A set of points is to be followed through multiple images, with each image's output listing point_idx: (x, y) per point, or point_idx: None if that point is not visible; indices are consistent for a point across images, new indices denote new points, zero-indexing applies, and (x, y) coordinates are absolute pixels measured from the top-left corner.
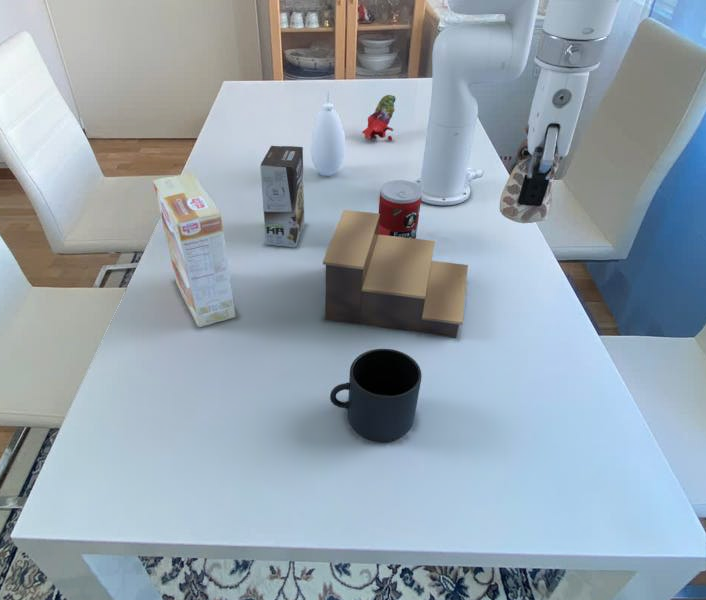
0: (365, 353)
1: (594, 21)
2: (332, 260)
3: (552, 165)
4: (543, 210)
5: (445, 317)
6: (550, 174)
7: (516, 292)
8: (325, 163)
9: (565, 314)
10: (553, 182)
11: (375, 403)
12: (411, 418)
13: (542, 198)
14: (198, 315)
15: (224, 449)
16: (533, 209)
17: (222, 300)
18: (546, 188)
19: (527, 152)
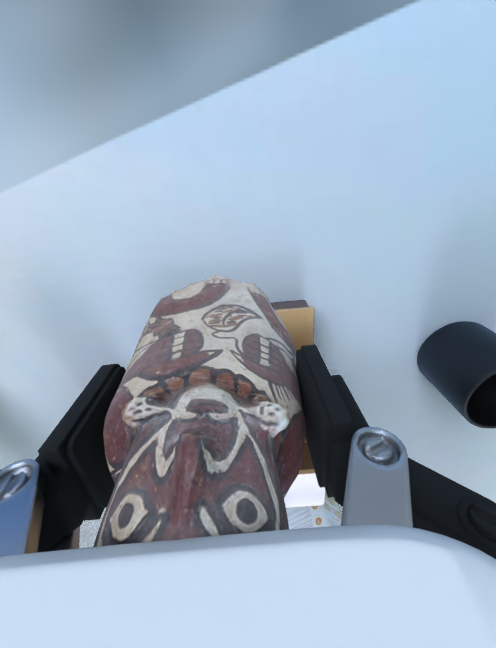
0: (472, 421)
1: None
2: (319, 498)
3: (409, 505)
4: (273, 313)
5: (307, 330)
6: (407, 458)
7: (165, 227)
8: None
9: (196, 132)
10: (207, 345)
11: None
12: (493, 332)
13: (321, 361)
14: (340, 513)
15: (482, 444)
16: (293, 347)
17: (330, 513)
18: (334, 386)
19: (96, 506)
